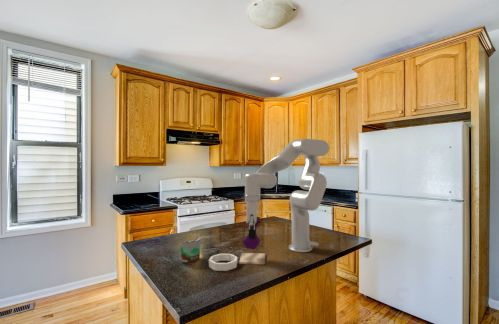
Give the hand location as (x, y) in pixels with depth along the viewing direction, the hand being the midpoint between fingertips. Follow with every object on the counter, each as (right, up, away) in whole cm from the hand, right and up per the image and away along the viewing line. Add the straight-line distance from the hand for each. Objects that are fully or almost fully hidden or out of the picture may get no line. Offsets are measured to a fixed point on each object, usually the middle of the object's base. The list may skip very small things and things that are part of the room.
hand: (252, 235), depth 124 cm
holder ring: (-13, -11, -7) cm, 19 cm away
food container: (-28, -12, -2) cm, 30 cm away
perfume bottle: (-1, -6, 0) cm, 6 cm away
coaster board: (0, -11, 0) cm, 11 cm away
